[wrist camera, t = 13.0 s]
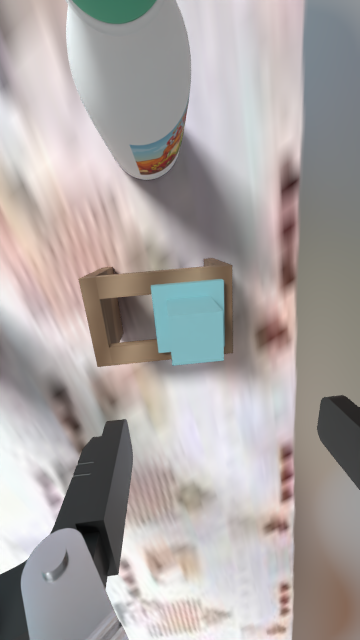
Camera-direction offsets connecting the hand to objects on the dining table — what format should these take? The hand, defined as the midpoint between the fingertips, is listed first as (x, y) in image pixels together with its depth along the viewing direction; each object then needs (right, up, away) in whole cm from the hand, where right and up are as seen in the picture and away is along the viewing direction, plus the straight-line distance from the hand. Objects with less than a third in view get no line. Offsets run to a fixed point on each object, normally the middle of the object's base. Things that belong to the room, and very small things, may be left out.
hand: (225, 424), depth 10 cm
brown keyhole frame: (-4, +7, +22) cm, 23 cm away
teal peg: (-1, +6, +17) cm, 18 cm away
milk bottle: (-6, +24, +16) cm, 30 cm away
